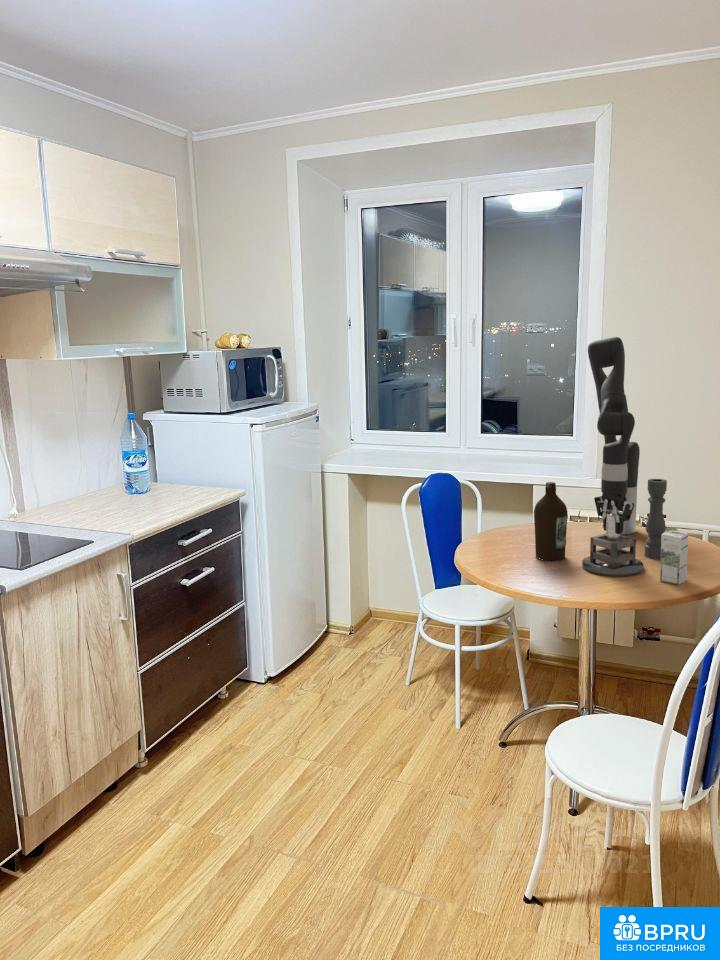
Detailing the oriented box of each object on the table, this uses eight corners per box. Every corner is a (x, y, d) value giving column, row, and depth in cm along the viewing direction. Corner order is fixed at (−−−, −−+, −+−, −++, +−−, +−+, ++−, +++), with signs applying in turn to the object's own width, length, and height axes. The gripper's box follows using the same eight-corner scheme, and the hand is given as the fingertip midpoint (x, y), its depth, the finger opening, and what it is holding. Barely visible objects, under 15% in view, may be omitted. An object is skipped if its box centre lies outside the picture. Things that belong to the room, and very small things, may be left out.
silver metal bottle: (603, 555, 225) (604, 512, 222) (616, 555, 224) (617, 511, 222) (607, 559, 220) (608, 515, 218) (621, 559, 220) (622, 515, 218)
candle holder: (666, 558, 229) (669, 482, 224) (646, 558, 230) (648, 482, 225) (662, 553, 235) (665, 478, 230) (642, 552, 236) (645, 478, 231)
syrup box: (687, 580, 209) (689, 532, 206) (678, 585, 205) (681, 536, 202) (667, 576, 213) (669, 529, 210) (659, 581, 209) (660, 533, 206)
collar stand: (569, 565, 226) (570, 536, 225) (609, 555, 235) (610, 527, 233) (615, 580, 211) (615, 550, 209) (656, 569, 220) (657, 539, 218)
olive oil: (527, 558, 236) (527, 484, 231) (543, 550, 243) (543, 478, 239) (557, 563, 229) (558, 487, 224) (572, 555, 236) (573, 481, 232)
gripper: (587, 475, 222) (586, 529, 225) (624, 482, 210) (623, 539, 213) (604, 472, 225) (603, 525, 229) (642, 479, 213) (640, 534, 216)
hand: (613, 531), depth 221 cm, fingers closed on silver metal bottle, 4 cm apart
